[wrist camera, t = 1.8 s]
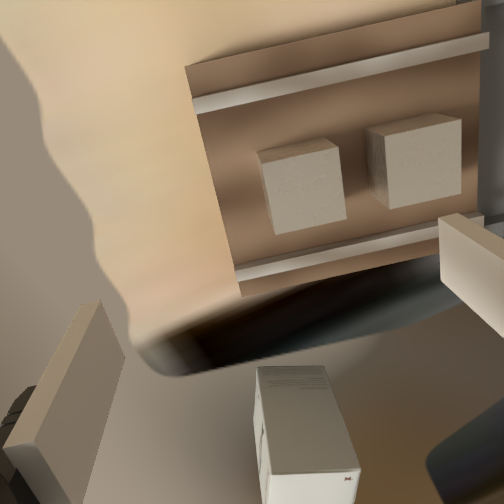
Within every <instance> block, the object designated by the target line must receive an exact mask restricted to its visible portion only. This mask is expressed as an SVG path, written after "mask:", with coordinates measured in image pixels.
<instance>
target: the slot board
mask: <svg viewBox="0 0 504 504" xmlns="http://www.w3.org/2000/svg"><path fill="white" fill-rule="evenodd" d="M489 33H490V32H485V33H481V0H477V1H472V2H468V3H463V4H459V5H455V6H450V7H446V8H441V9H437V10H432V11H428V12H424V13H419V14H415V15H410V16H406V17H401V18H397V19H393V20H388V21H384V22H379V23H375V24H370V25H366V26H362V27H357V28H353V29H348V30H344V31H339V32H335V33H331V34H326V35H322V36H317V37H313V38H308V39H304V40H300V41H295V42H291V43H286V44H282V45H277V46H273V47H269V48H264V49H260V50H255V51H251V52H247V53H242V54H238V55H233V56H229V57H224V58H220V59H216V60H211V61H207V62H202V63H198V64H193V65H189V66H185V71H186V75H187V79H188V83H189V87H190V91H191V95H192V102H193V106H194V110H195V114H196V115H197V119H198V123H199V127H200V131H201V135H202V139H203V143H204V147H205V151H206V155H207V159H208V163H209V167H210V171H211V175H212V179H213V183H214V187H215V191H216V195H217V199H218V203H219V207H220V211H221V215H222V219H223V223H224V227H225V231H226V235H227V239H228V243H229V247H230V251H231V255H232V259H233V263H234V269H235V274H236V278H237V282H238V283H239V287H240V291H241V295H242V297H244V296H248V295H253V294H257V293H262V292H266V291H271V290H275V289H280V288H284V287H289V286H293V285H298V284H302V283H307V282H311V281H316V280H320V279H325V278H329V277H334V276H338V275H343V274H347V273H352V272H356V271H361V270H365V269H370V268H374V267H379V266H383V265H388V264H392V263H397V262H401V261H406V260H410V259H415V258H419V257H423V256H428V255H432V254H437V253H440V250H439V228H438V218H439V217H443V216H447V215H451V214H455V213H459V214H461V215H462V216H464V217H466V218H468V219H469V220H471V221H473V222H475V223H476V224H478V225H480V226H481V227H484V215H483V214H481V213H479V212H477V187H478V139H479V91H480V50H485V49H489ZM427 113H436V114H441V115H445V116H450V117H454V118H459V119H461V194H457V195H453V196H448V197H444V198H439V199H435V200H430V201H426V202H421V203H417V204H412V205H408V206H403V207H399V208H394V209H388V208H387V207H386V206H385V205H384V204H382V203H381V202H380V201H379V200H377V199H376V198H375V197H374V196H373V195H371V194H370V189H369V178H368V167H367V156H366V145H365V134H364V128H365V127H369V126H374V125H378V124H383V123H387V122H392V121H396V120H401V119H405V118H410V117H414V116H418V115H423V114H427ZM320 137H324V138H326V139H327V140H329V141H330V142H332V143H333V144H335V145H336V146H338V148H339V157H340V165H341V174H342V182H343V191H344V199H345V208H346V216H347V219H345V220H341V221H336V222H332V223H327V224H323V225H318V226H314V227H309V228H305V229H300V230H296V231H291V232H287V233H282V234H278V235H275V232H274V230H273V227H272V224H271V221H270V219H269V216H268V211H267V206H266V201H265V196H264V191H263V186H262V181H261V176H260V171H259V166H258V161H257V156H256V152H258V151H263V150H267V149H272V148H276V147H280V146H285V145H289V144H294V143H298V142H303V141H307V140H312V139H316V138H320Z"/></svg>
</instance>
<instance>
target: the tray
mask: <svg viewBox="0 0 504 504" xmlns="http://www.w3.org/2000/svg"><path fill="white" fill-rule="evenodd" d="M472 1H477V0H457V5H459V4H463V3H468V2H472ZM485 32H490V33H489V49H485V50H480V91H479V139H478V187H477V212H479V213H481V214H483V215H484V227H483V228H485V229H487V230H488V231H490V232H492V233H494V234H497V233H501V232H504V0H481V33H485Z"/></svg>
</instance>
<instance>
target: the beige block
mask: <svg viewBox="0 0 504 504" xmlns="http://www.w3.org/2000/svg"><path fill="white" fill-rule="evenodd" d="M364 134H365V145H366V156H367V167H368V178H369V189H370V194H371V195H373V196H374V197H375V198H376V199H377V200H379V201H380V202H381V203H382V204H384V205H385V206H386V207H387V208H388V209H394V208H399V207H403V206H408V205H412V204H417V203H421V202H426V201H430V200H435V199H439V198H444V197H448V196H453V195H457V194H461V119H459V118H454V117H450V116H445V115H441V114H436V113H427V114H423V115H418V116H414V117H410V118H405V119H401V120H396V121H392V122H387V123H383V124H378V125H374V126H369V127H365V128H364Z"/></svg>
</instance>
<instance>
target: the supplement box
mask: <svg viewBox="0 0 504 504" xmlns="http://www.w3.org/2000/svg"><path fill="white" fill-rule="evenodd" d="M253 421H254V429H255V440H256V450H257V459H258V469H259V478H260V486H261V494H262V503H263V504H354V500H355V497H356V490H357V486H358V481H359V476H360V472H361V468H360V465H359V462H358V459H357V456H356V454H355V451H354V448H353V445H352V443H351V440H350V437H349V434H348V431H347V429H346V426H345V423H344V420H343V417H342V415H341V412H340V409H339V406H338V404H337V401H336V398H335V395H334V392H333V390H332V387H331V384H330V381H329V378H328V376H327V373H326V370H325V367H324V366H270V367H269V366H267V367H265V366H264V367H257V368H256V396H255V408H254V417H253Z"/></svg>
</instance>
